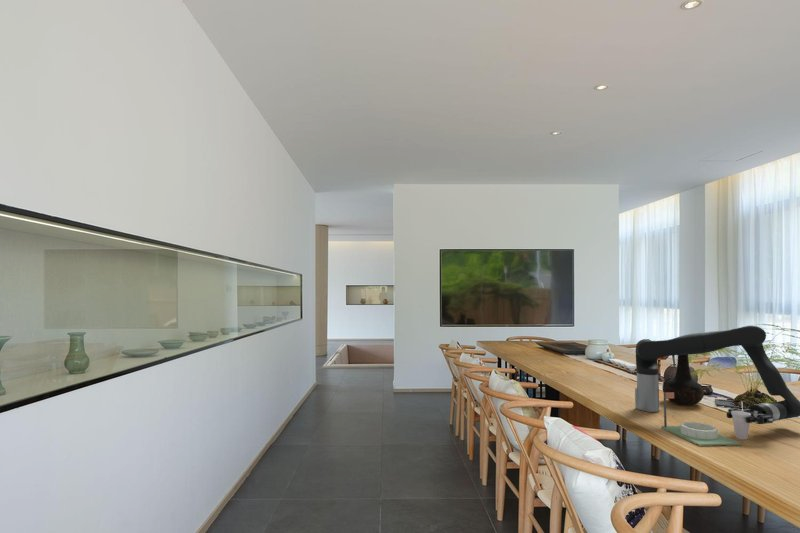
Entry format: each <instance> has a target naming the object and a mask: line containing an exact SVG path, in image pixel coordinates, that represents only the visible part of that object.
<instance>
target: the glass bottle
mask: <svg viewBox="0 0 800 533" xmlns="http://www.w3.org/2000/svg"><path fill="white" fill-rule="evenodd" d="M664 392H665V393H672V392H674V398H669V399H668V400H669V401H670V402H671V403H673V404H676V405H679V406H688V407H689V406H694V405H698V404H699V403H700V402H701V401H702V399H704V396H705V390H704V388H703V387H702V385H701V384H700V383H699V382H698V381H696V380H695V379H693V377H692V374H691V370H690V363H689V355H677V364H676V372H675V376H673V377H672V378H671V377H668V378H666V379H665V380H664V381H663V382H662V393H663V394H664Z"/></svg>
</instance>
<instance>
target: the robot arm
mask: <svg viewBox="0 0 800 533" xmlns="http://www.w3.org/2000/svg"><path fill="white" fill-rule="evenodd" d="M766 338H767V334H766V331H765V330H764V329H763V328H762V327H761V326H756V325H753V324H752V325H751V324H750V325H746V326H741V327H737V328H732V329H727V330H716V331H706V332H703V331H702V332H696V333H689V334H685V335H681V336H677V337H674V338H671V339H665V340H664V339H663V340H652V339H648V338H645V339H644V338H643V339H641V340H639V341H638V342H637V343H636V345H635V365H636V366H635V367H636V387H635V388H634V395H635V396H634V400H635V401H634V402H635V403H634V404H635V405H634V408H635V409H637V410H639V411H642V412H647V413H649V412H650V413H656V412H657V413H659V411H660V388H659V385H660V384H659V383H660V382H659V380H660V378H659V377H660V376H659V365H658V359H659V358H660V359H661V358H665V357H670V356H678V355H688V356H689V355H699V354H706V353H711V352H716V351H720V350H722V349H725V348H729V347H737V346H739V347H740V346H741V348H742V349H743V350H744V351H745V352H746V354H747V356H748V357H749V358H750V360H751V362H752V363H753V365H754V367H755V369H756V371H757V373H758V375H759V377H760V378H761V380H762V383H763V385H764V386H765V389H766V391H767V392H768V394H769V395H770V396H775V397H777V396H780V397H782V398H783V400H779V401H771V402H762V403H759V404H754V405H750V406H749V407H748V408H747V409H743V411H744V412H748V413H750V414H751V416H749V417H746V423H749V424H752V423H754V424H756V425H764V424H773V423H774V422H776V421H780V420H787V419H793V418H796V417H800V400H799V399H798V397H796V396H795V394H794V393H793V392H792V391H791V390H790V388H788V386H787V384H786V382H785V380H784V378H783V376H782V374H781V373H780V371H779V370H778V368H777V367H776V366H775V364H774V363H773V362H772V361H771V360H770V358H769V356H768V355H767V352H766V350H765V348H764V345H763V344H764V342H765V341H766ZM731 411H742V409H738V408H728V409H727V412H726V418H727V419H733V417H732V415H731Z"/></svg>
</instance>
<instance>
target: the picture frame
mask: <svg viewBox="0 0 800 533" xmlns="http://www.w3.org/2000/svg"><path fill="white" fill-rule="evenodd" d="M733 401H734V400H731V399H730V400H729V399H720V398H714V402H716V403H715V406H716V405H717V406H716V407H718V406H724V407H723V408H727V407H731V408H730V409H732V408H740V407H739V406H734V405H735V404H734V403H732V402H733Z"/></svg>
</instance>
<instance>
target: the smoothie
mask: <svg viewBox="0 0 800 533" xmlns="http://www.w3.org/2000/svg"><path fill="white" fill-rule="evenodd" d="M743 402H744V401H742V400H741V408H742V411H731V415H732V417H733V418H732V422H733V428H734V433H735V438H736V439H739V440H748V438H749V430H750V423H746V417H749V416H751V414H750V413H748V412H744V411H743Z"/></svg>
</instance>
